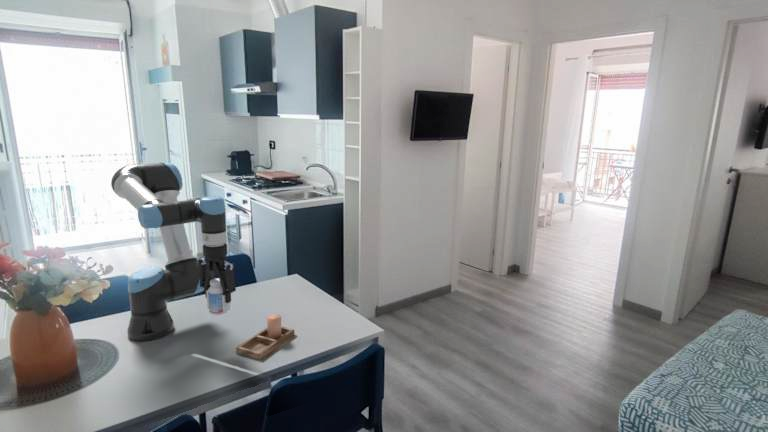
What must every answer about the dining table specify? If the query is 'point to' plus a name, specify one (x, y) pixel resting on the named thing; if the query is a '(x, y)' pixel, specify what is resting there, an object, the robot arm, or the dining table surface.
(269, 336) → the peach capsule shape
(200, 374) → the dining table surface
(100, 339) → the dining table surface
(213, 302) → the pill bottle
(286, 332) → the rack
